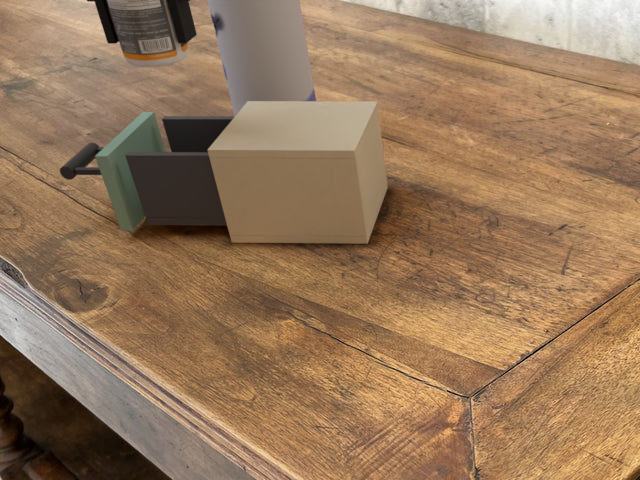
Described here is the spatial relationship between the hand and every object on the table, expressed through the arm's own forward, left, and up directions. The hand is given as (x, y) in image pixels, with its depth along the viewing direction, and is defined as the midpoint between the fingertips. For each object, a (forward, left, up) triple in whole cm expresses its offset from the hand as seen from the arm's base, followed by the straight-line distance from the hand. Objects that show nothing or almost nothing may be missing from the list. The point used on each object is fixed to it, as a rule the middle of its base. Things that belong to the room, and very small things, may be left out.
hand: (152, 38), depth 73 cm
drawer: (-3, 0, -17) cm, 17 cm away
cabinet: (+12, 0, -18) cm, 21 cm away
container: (+3, +21, -18) cm, 28 cm away
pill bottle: (0, 0, -2) cm, 2 cm away
